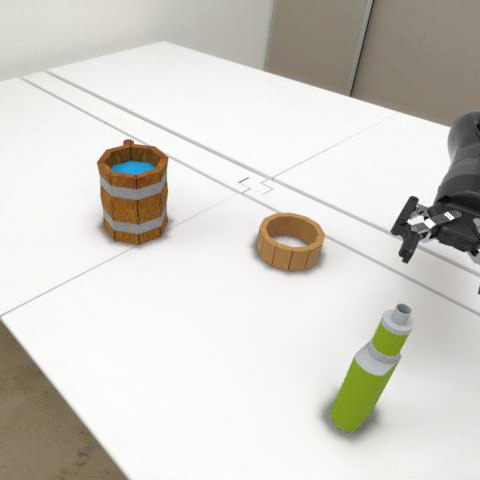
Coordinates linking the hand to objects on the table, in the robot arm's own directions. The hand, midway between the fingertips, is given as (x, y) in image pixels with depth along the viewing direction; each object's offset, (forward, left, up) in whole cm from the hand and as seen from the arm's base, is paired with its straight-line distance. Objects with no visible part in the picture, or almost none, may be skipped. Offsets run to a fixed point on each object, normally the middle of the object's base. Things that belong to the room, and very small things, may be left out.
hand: (445, 274), depth 53 cm
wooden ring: (+20, -22, -21) cm, 36 cm away
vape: (+4, +8, -21) cm, 23 cm away
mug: (+52, -19, -21) cm, 59 cm away
